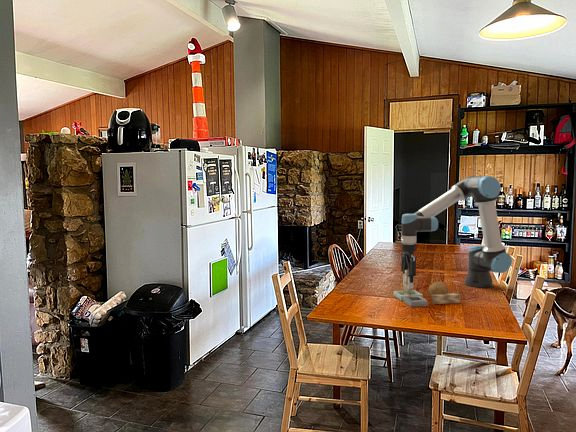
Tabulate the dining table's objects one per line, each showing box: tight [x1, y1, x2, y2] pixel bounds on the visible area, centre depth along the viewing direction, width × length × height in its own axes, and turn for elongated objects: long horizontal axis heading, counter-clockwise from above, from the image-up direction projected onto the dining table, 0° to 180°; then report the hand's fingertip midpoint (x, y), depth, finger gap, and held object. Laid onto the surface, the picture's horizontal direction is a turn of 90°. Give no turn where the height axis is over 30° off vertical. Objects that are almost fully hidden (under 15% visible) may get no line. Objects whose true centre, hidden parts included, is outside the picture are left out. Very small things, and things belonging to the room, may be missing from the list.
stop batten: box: [431, 292, 461, 305], centre depth 231 cm, size 14×3×4 cm, turn 99°
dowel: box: [403, 270, 413, 296], centre depth 240 cm, size 4×4×14 cm
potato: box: [428, 281, 449, 297], centre depth 238 cm, size 10×14×8 cm
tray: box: [393, 289, 424, 302], centre depth 240 cm, size 12×10×2 cm
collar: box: [402, 296, 429, 307], centre depth 229 cm, size 9×9×2 cm
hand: (408, 286), depth 240 cm, fingers open, 5 cm apart
